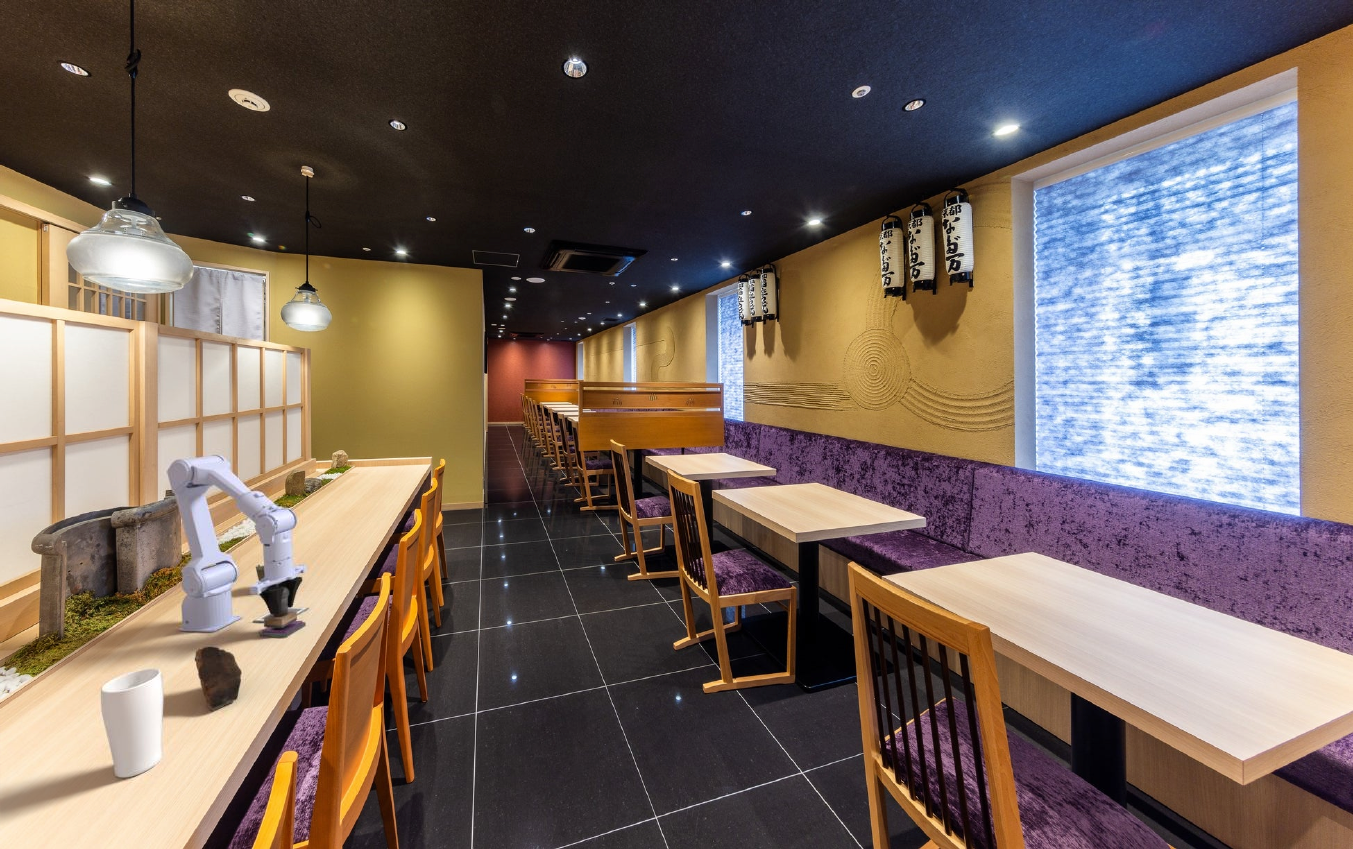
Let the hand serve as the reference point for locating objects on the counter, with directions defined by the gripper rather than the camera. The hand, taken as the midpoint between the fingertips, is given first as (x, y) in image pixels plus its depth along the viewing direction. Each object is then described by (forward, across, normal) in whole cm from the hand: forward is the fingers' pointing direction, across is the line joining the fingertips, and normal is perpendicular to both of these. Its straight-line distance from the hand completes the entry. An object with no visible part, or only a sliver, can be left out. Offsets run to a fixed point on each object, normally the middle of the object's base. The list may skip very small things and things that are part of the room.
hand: (281, 610), depth 125 cm
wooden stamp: (+3, 0, 0) cm, 3 cm away
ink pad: (+6, 0, 0) cm, 6 cm away
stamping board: (+6, +8, +8) cm, 12 cm away
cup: (+6, +24, +24) cm, 35 cm away
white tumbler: (+6, -44, -14) cm, 47 cm away
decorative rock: (+6, -26, -10) cm, 28 cm away
